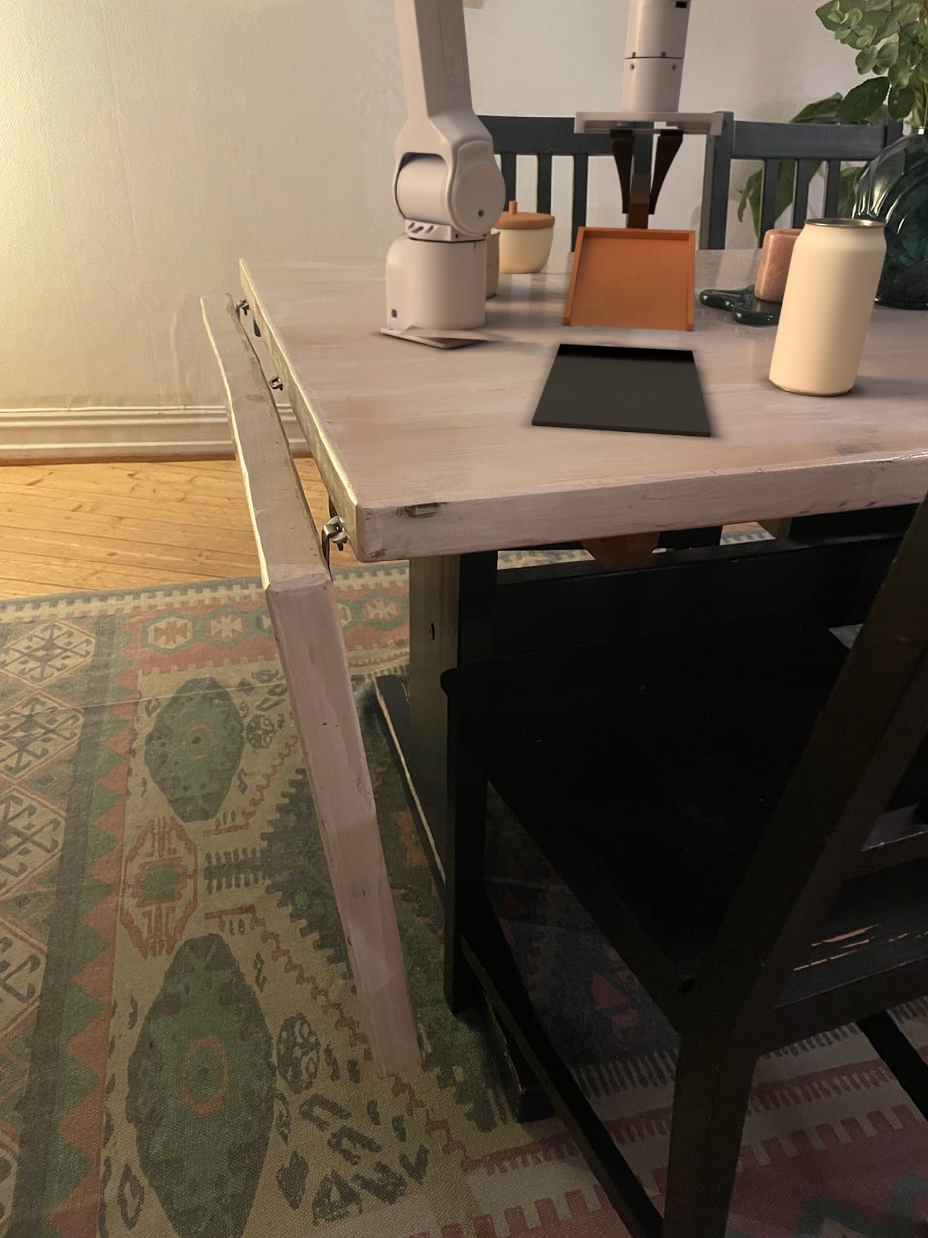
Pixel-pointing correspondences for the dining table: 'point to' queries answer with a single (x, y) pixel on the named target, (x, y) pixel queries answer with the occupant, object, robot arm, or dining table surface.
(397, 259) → the robot arm
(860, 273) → the can
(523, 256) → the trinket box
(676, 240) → the dustpan
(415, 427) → the dining table surface
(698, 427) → the mat
